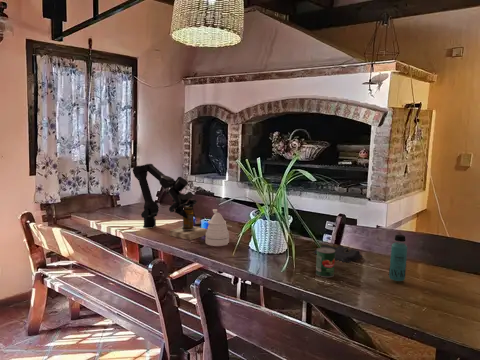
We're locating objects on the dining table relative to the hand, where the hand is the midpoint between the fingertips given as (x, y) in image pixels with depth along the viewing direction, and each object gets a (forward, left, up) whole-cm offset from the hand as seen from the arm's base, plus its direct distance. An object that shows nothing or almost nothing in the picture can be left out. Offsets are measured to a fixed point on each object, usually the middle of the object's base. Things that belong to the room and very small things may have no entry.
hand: (190, 217), depth 241 cm
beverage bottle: (+98, -63, -11) cm, 117 cm away
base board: (-1, +1, -11) cm, 11 cm away
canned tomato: (+69, -57, -11) cm, 90 cm away
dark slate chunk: (+79, -29, -12) cm, 85 cm away
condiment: (-1, 0, -7) cm, 7 cm away
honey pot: (+17, -13, -11) cm, 24 cm away
